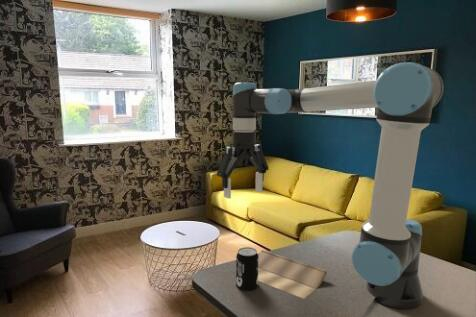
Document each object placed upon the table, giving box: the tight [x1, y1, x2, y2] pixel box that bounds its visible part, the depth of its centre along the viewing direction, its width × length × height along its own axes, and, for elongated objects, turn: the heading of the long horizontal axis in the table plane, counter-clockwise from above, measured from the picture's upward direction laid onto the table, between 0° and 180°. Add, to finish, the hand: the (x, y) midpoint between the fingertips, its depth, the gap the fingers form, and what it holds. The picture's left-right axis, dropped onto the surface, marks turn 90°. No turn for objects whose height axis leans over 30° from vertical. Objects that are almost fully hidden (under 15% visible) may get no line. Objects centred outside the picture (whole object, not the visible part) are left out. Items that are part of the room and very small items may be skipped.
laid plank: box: [258, 268, 317, 300], centre depth 111 cm, size 24×7×1 cm, turn 51°
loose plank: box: [258, 249, 328, 290], centre depth 116 cm, size 24×7×1 cm, turn 51°
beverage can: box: [235, 246, 259, 292], centre depth 107 cm, size 7×7×12 cm
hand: (243, 194), depth 121 cm, fingers open, 13 cm apart
